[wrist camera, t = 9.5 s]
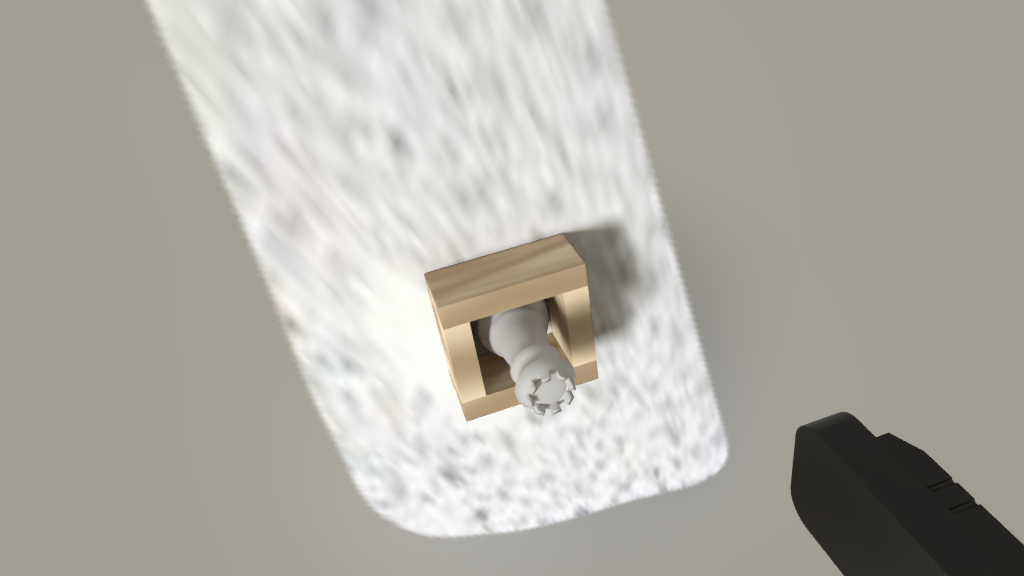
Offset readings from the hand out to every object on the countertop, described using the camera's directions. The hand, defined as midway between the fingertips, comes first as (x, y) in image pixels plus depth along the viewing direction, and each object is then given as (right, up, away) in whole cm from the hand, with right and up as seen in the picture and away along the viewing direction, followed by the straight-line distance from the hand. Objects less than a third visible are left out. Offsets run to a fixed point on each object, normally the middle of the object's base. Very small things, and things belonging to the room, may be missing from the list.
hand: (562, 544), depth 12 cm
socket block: (-1, +3, +32) cm, 33 cm away
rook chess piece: (-1, +3, +32) cm, 33 cm away
